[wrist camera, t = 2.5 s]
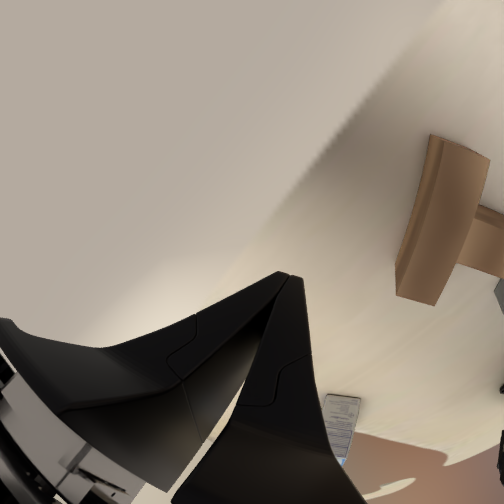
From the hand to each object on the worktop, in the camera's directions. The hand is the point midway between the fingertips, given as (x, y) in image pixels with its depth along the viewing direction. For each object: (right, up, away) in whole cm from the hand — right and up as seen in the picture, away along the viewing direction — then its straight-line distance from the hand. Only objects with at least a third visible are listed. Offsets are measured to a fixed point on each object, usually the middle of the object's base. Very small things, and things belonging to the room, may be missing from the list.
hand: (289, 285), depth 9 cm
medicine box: (+11, -20, +22) cm, 32 cm away
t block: (+14, +3, +6) cm, 15 cm away
